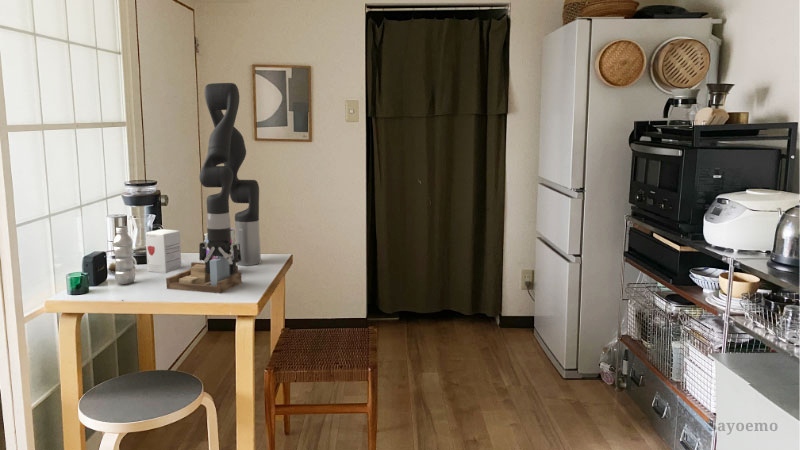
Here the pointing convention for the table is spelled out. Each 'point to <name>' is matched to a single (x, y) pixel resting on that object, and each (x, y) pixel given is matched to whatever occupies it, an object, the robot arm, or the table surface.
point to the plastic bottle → (123, 256)
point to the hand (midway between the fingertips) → (220, 273)
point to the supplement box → (163, 250)
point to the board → (219, 270)
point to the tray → (207, 287)
